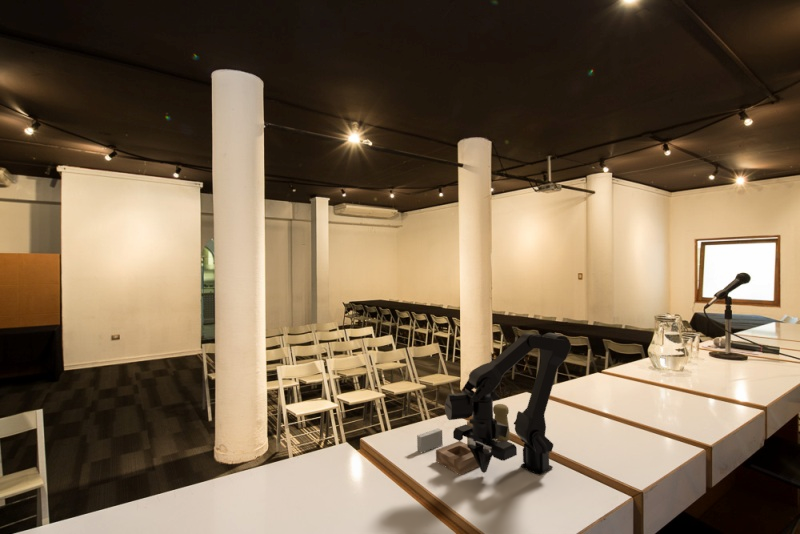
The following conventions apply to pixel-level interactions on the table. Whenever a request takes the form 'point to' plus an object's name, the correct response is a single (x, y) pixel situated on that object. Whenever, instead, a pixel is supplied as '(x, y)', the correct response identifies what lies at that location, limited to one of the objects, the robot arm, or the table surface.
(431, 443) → the wall
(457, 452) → the socket block
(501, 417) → the cork
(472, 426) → the dowel
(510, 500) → the table surface
